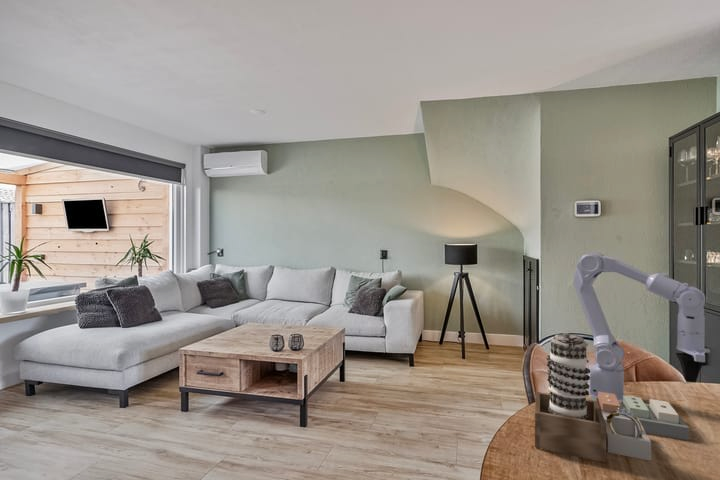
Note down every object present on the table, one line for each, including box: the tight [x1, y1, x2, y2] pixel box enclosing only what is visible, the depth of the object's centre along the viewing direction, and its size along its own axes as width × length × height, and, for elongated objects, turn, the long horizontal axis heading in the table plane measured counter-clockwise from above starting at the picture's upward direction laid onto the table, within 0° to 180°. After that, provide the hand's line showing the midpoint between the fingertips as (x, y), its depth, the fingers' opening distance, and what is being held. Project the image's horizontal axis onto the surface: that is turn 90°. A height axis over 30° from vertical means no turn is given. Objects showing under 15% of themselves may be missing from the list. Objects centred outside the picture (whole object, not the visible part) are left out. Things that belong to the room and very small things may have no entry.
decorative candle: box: [546, 332, 590, 420], centre depth 94 cm, size 9×9×25 cm
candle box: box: [534, 391, 607, 463], centre depth 94 cm, size 14×14×8 cm
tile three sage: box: [623, 394, 649, 419], centre depth 104 cm, size 4×9×3 cm, turn 155°
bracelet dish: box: [603, 414, 652, 462], centre depth 93 cm, size 8×12×4 cm, turn 155°
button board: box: [590, 395, 690, 441], centre depth 104 cm, size 19×13×3 cm, turn 65°
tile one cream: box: [649, 398, 680, 424], centre depth 102 cm, size 4×9×3 cm, turn 155°
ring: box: [607, 408, 642, 438], centre depth 93 cm, size 7×3×8 cm, turn 31°
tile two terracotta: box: [598, 392, 621, 413], centre depth 107 cm, size 4×9×3 cm, turn 155°
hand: (690, 381), depth 108 cm, fingers closed
